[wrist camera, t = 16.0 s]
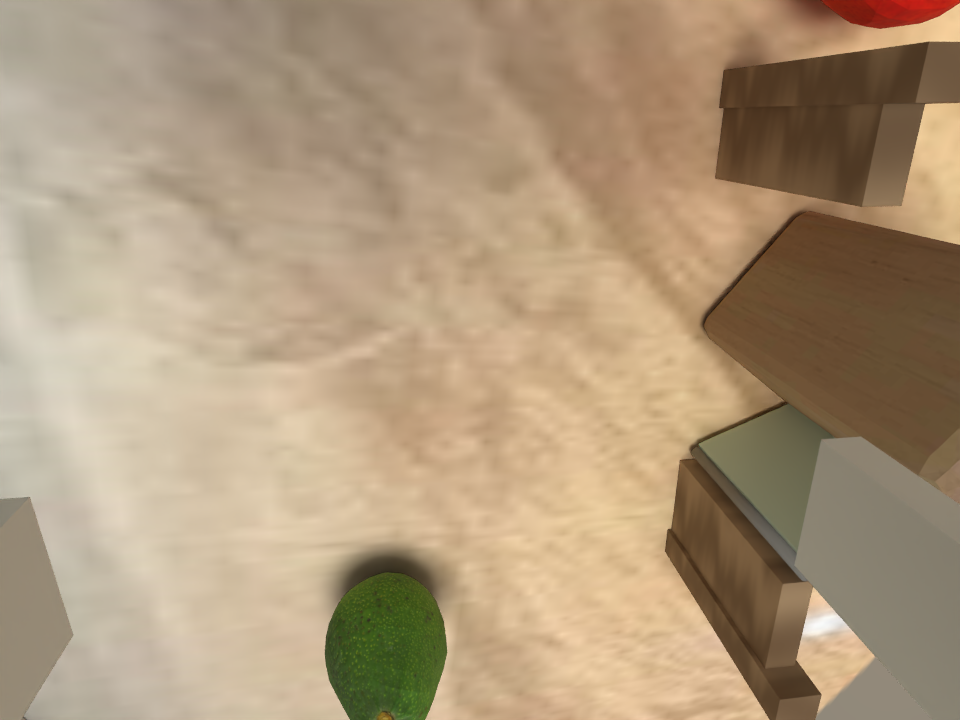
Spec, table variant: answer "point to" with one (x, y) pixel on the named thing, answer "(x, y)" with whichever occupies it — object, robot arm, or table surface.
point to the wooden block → (857, 337)
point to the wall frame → (825, 175)
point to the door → (768, 473)
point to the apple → (889, 11)
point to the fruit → (386, 649)
